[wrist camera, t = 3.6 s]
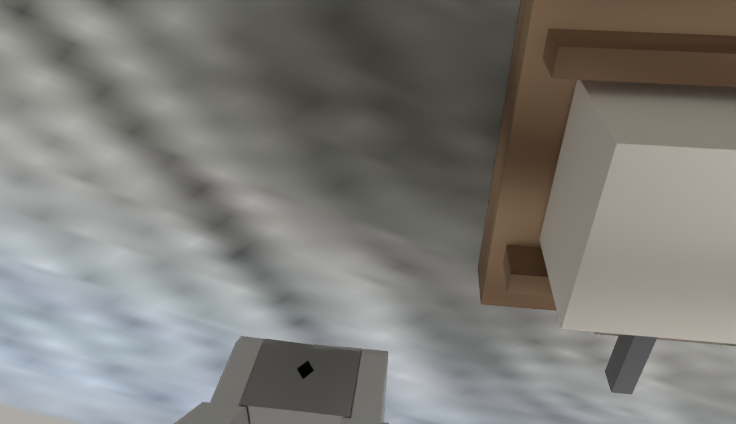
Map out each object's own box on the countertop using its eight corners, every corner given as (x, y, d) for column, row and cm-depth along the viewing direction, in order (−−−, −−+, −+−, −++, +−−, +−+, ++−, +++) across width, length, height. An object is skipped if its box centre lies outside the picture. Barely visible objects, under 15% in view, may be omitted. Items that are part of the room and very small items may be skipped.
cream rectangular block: (578, 75, 15) (616, 143, 12) (772, 85, 14) (870, 157, 11) (523, 305, 20) (539, 398, 16) (667, 317, 19) (714, 415, 16)
